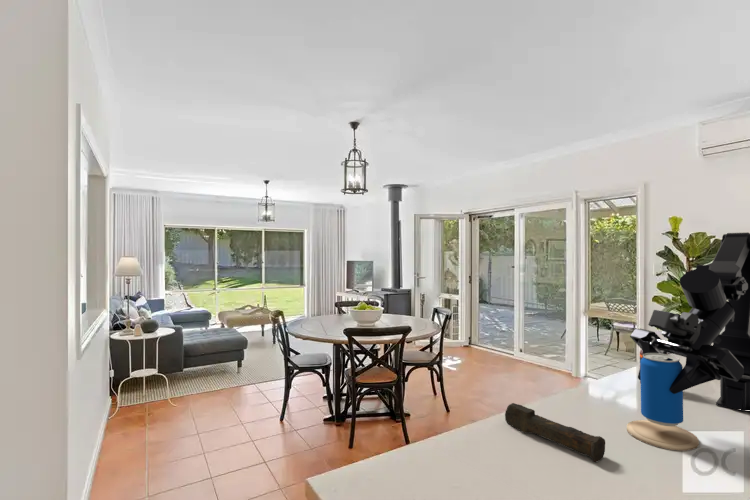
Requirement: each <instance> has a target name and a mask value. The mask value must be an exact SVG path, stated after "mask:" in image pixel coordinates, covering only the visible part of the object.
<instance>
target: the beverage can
mask: <svg viewBox="0 0 750 500" xmlns="http://www.w3.org/2000/svg"><path fill="white" fill-rule="evenodd" d="M683 368H684V367H683V364H682V363H681V362H680V358H679V357H677V356H675V355H672V354H668V353H667V354H660V353H645V354H643V358H642V359H641V361H640V360H639V370H640V376H641V384H640V413H641V416H643V417H645V420H648V421H650V422H652V423H655V424H658V425H663V426H679V425H680V424H682V423H683V422H684V390H683V391H681V392H678V393H676V394H673V393H672V392H671V391H670V390H669V389H670V387H671V385H672V383H673V382H674V380H675V379H676V378H677V376H678V375H679V373H680V372H681V371H682V369H683Z"/></svg>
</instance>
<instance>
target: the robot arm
mask: <svg viewBox="0 0 750 500" xmlns="http://www.w3.org/2000/svg"><path fill="white" fill-rule="evenodd" d="M719 246H720V247H719V249H718V250H717V252H716V254H715V256H714V259H713V260H712V262H711V263H708V264H697V265H696V267H695V268H694V269H692V270H689V271H686V273H684V274H683V275H682V276H681V277H680V279H679V285H680V286H681V289H682V292H683V294H684V296H685V299H686V301H687V304H688V306H689V307H692V308H691V309H690V310H689V312H685V311H683V312H681V314H677V313H674V312H669V311H663V310H658V309H654V310H652V313H651V317H650V318H649V319H650V320H649V322H648V324H647V325H648V326H649V327H654V328H656V329H657V330H660V331H661V332H660V335H662V336H663V338H666V339H667V341H665V340H663V339H662V338H661V337H660V336H659V335H658V334H657V332H655V331H652V330H648V329H644V328H635V329H634V330H633V331H632V333H631V334H630V335H629V338H630V339H631V340H632V341H633V342H634V343H635V344H636V345H637V346H638V347H639V348H640V350H643V354H645V353H660V354H666V353H667V354H669V353H670V354H671V355H672V354H673V355H676V356H680V357H683V358H685V365H684V367H683V369H682V371H681V372H680V373H679V375H678V376H677V378H676V379H675V380H674V382H673V383H672V385H671V387H670V389H669V390H670V391H671V392H672V393H673V394H676V393H678V392H681V391H683V392H684V391H685V390H689V389H690V388H693V387H696V386H698V385H702V384H705V383H709V382H711V381H712V382H713V381H714V380H716V381H719V382H720V383H719V384H720V385H719V387H720V392H719V393H720V396H719V397H718V398H717V400H716V401H715V405H716V406H719V407H724V408H729V409H732V408H733V409H732V410H737V409H741V410H750V232H728V233H724V234H723V235H722V238H721V240H720V245H719ZM642 358H643V356H642ZM637 379H638V380H639V382H640V381H641V376H640V369H639V370H638V374H637ZM741 410H740V411H741Z"/></svg>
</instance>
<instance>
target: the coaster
mask: <svg viewBox="0 0 750 500" xmlns="http://www.w3.org/2000/svg"><path fill="white" fill-rule="evenodd" d="M626 431H627V433H628V434H629V435H630V436H631V437H633V438H634V439H636V440H638V441H640V442H642V443H644V444H647V445H650V446H652V447H657V448H659V449H661V448H662V449H665V450H670V451H681V452H682V451H683V452H684V451H692V450H696V449H697V448H699V446H700V444H699V443H700V442H699V441H700V440H699V438H698V437H697V435H695V434H694V433H692V432H691V431H689V430H686V429H684V428H682V427H680V426H678V425H676V426H663V425H658V424H655V423H652V422H650V421H648V420H647V419H638V420H633V421H630V422H628V423H627V424H626Z"/></svg>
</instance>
